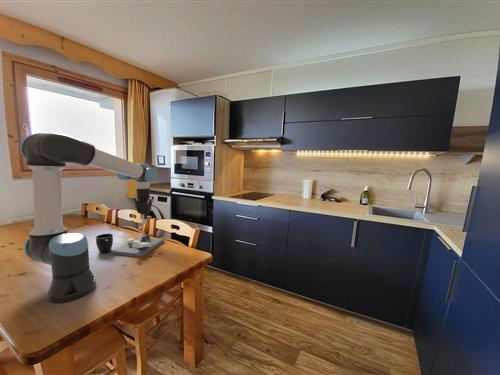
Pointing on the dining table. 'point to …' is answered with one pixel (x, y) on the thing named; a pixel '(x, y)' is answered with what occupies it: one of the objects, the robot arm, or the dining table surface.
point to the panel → (138, 252)
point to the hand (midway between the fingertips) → (144, 223)
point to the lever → (142, 231)
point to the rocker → (141, 245)
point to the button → (130, 241)
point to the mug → (104, 242)
